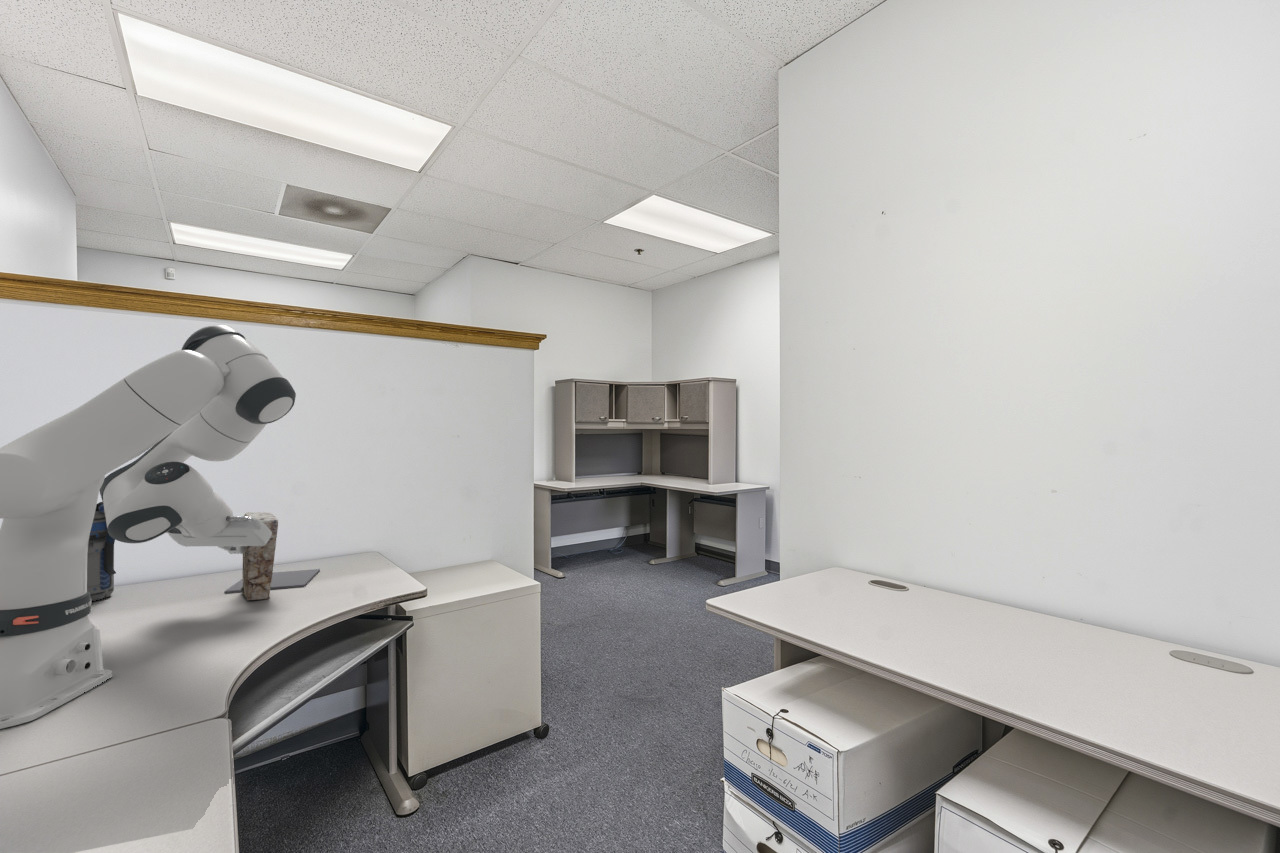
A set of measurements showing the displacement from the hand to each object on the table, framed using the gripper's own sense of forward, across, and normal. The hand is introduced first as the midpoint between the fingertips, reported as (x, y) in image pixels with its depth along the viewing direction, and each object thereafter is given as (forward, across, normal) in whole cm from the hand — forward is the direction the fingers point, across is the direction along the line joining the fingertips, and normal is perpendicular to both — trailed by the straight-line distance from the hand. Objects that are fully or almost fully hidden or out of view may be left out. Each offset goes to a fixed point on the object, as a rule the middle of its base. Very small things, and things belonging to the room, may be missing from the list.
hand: (238, 551), depth 133 cm
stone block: (+13, 0, +4) cm, 14 cm away
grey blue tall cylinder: (+11, +39, +7) cm, 41 cm away
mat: (+22, +3, -5) cm, 23 cm away
